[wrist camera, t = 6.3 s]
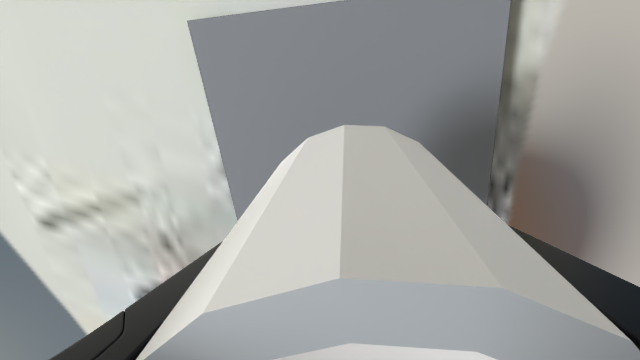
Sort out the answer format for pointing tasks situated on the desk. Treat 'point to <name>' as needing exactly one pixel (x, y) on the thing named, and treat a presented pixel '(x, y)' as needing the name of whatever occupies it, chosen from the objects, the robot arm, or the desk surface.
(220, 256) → the white faceted cylinder
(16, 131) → the desk surface
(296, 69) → the coaster mat
